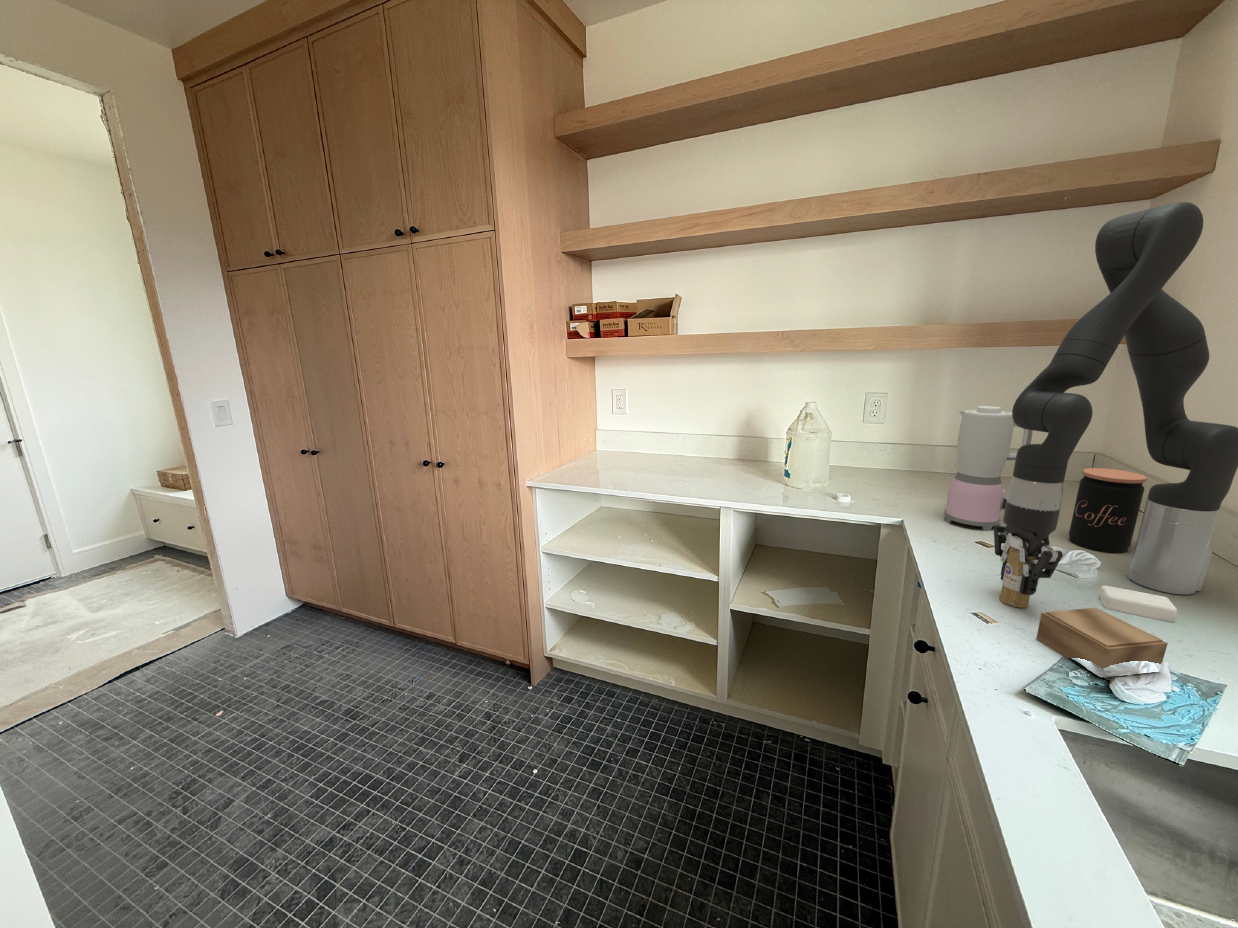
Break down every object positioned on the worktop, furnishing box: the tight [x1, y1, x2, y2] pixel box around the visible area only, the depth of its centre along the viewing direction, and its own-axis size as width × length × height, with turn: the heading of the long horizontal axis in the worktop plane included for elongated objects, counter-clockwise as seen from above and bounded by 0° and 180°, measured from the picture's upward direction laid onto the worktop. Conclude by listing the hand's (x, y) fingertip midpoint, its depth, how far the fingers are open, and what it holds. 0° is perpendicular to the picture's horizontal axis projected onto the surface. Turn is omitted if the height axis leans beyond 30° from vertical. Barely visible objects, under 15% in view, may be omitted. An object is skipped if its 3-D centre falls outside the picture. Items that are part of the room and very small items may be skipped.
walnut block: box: [1036, 607, 1168, 669], centre depth 76 cm, size 10×10×5 cm
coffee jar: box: [1068, 467, 1148, 554], centre depth 114 cm, size 11×11×18 cm
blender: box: [944, 405, 1034, 532], centre depth 127 cm, size 16×12×32 cm
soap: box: [1099, 585, 1178, 623], centre depth 88 cm, size 9×6×3 cm, turn 55°
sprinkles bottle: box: [998, 536, 1038, 608], centre depth 90 cm, size 5×5×14 cm
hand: (1016, 586), depth 91 cm, fingers closed on sprinkles bottle, 4 cm apart
